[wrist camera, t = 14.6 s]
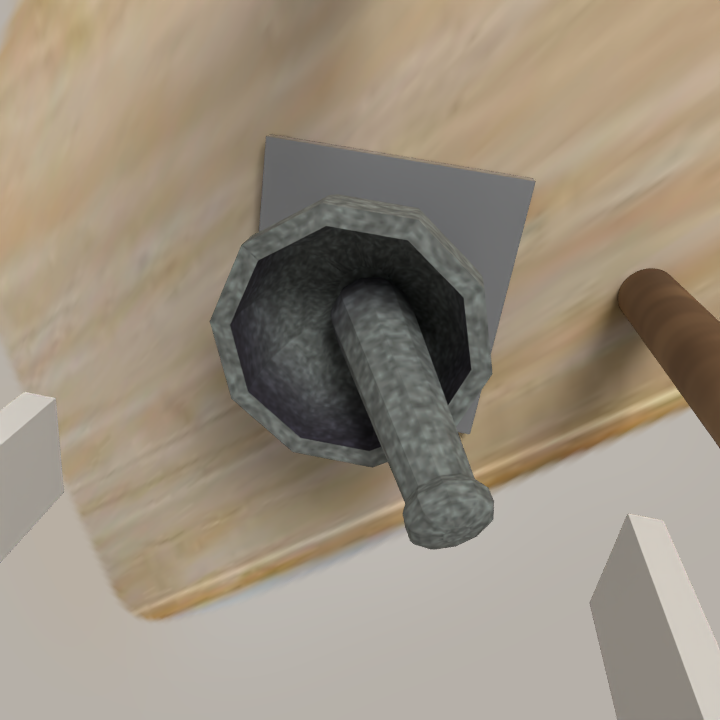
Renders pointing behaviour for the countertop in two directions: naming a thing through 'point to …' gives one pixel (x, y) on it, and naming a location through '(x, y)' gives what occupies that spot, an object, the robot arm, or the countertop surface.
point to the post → (678, 339)
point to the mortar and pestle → (364, 351)
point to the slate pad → (409, 204)
